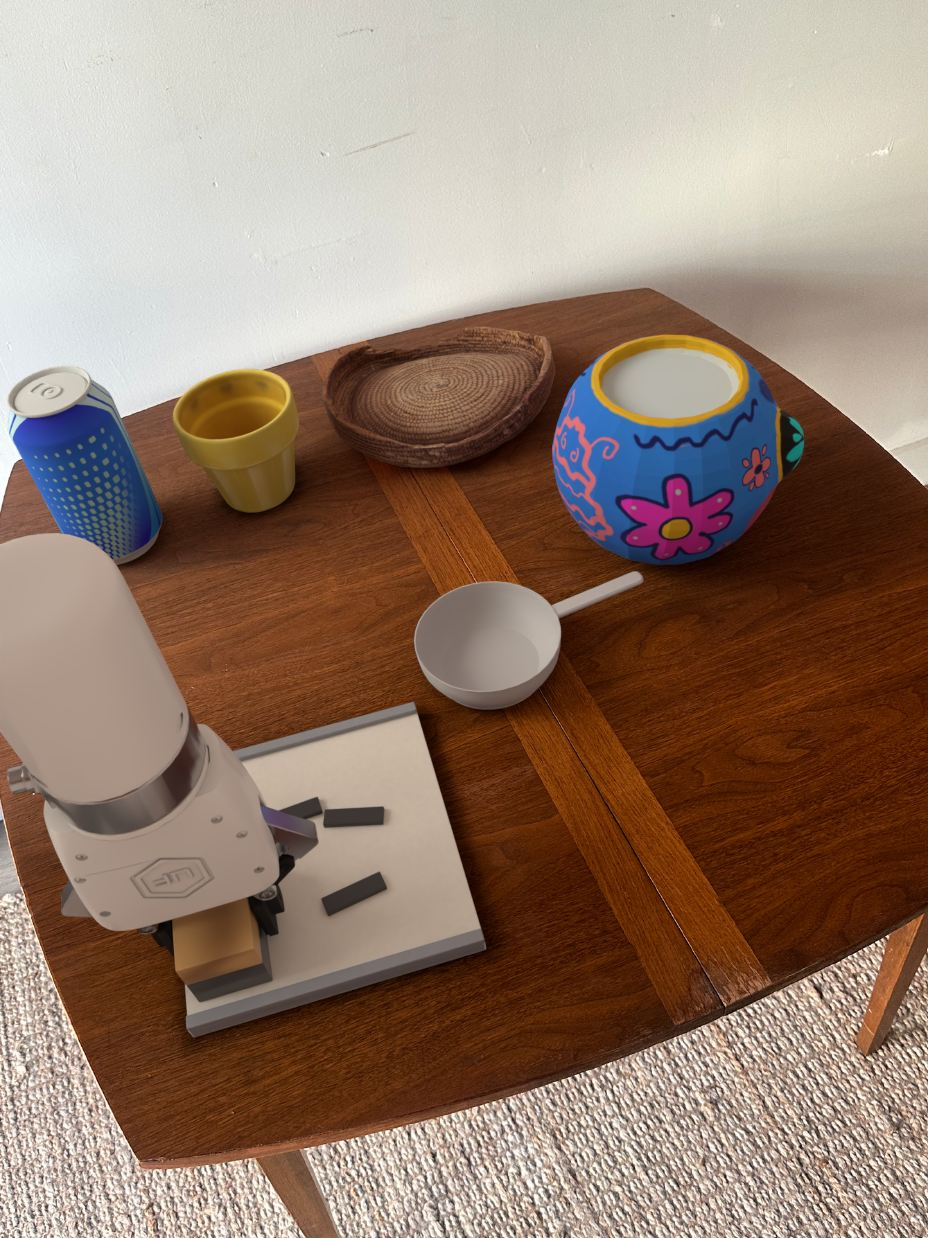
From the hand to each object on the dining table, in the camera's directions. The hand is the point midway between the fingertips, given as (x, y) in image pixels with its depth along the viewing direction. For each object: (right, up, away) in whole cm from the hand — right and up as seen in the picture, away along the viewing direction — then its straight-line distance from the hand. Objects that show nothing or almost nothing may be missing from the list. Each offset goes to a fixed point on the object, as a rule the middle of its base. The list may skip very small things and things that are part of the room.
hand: (226, 925), depth 63 cm
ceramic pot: (+31, +26, +22) cm, 47 cm away
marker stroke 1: (+3, +6, +6) cm, 9 cm away
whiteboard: (+5, +3, +5) cm, 7 cm away
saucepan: (+20, +17, +15) cm, 30 cm away
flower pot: (-4, +31, +31) cm, 44 cm away
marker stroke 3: (+8, +2, +1) cm, 8 cm away
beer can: (-16, +26, +29) cm, 42 cm away
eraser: (0, -1, +1) cm, 1 cm away
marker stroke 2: (+7, +6, +5) cm, 11 cm away
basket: (+13, +39, +37) cm, 55 cm away
